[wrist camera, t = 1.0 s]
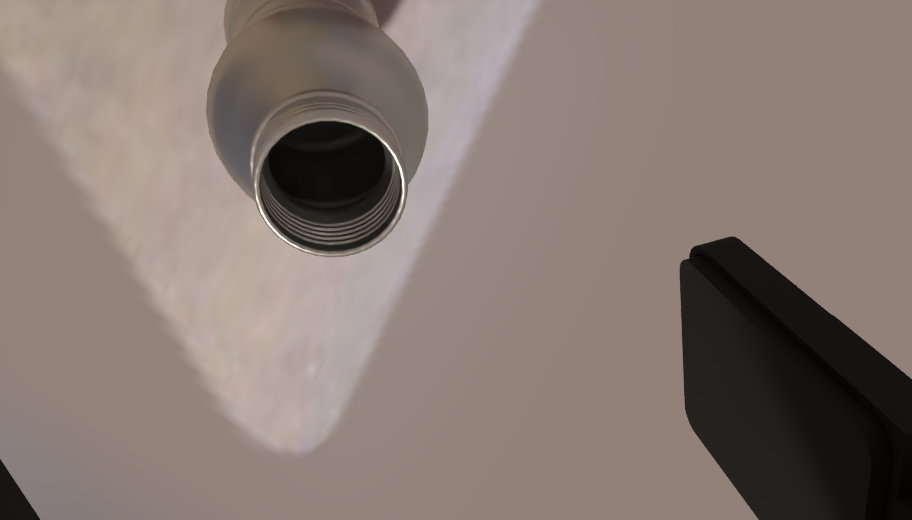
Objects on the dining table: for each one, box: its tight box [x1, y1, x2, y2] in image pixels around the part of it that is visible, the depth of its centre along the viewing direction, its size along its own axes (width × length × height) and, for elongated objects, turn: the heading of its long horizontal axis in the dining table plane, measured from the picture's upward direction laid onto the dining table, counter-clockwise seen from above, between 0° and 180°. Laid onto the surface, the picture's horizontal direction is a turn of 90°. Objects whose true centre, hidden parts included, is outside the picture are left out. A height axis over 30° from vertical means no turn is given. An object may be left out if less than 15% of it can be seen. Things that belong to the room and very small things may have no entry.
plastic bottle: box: [206, 0, 428, 257], centre depth 26 cm, size 6×7×20 cm
